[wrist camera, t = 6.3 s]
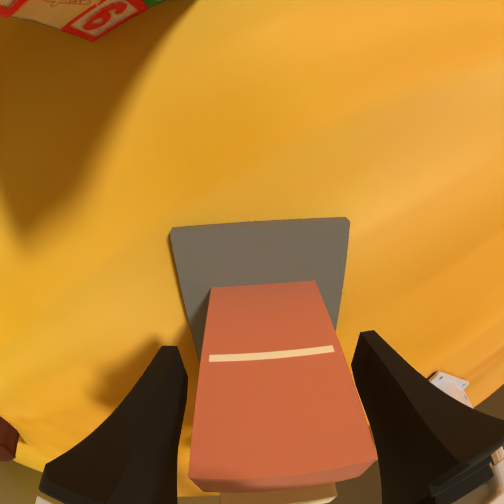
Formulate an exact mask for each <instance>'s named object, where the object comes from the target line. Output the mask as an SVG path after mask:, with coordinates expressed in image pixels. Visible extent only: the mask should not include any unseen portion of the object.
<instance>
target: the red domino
mask: <svg viewBox="0 0 504 504" xmlns="http://www.w3.org/2000/svg"><path fill="white" fill-rule="evenodd" d="M377 458H378V457H377V453H376V450H375V447H374V443H373V440H372V437H371V434H370V430H369V427H368V424H367V421H366V418H365V415H364V412H363V409H362V405H361V402H360V399H359V396H358V394H357V391H356V388H355V385H354V382H353V379H352V376H351V373H350V370H349V368H348V365H347V362H346V359H345V356H344V354H343V351H342V348H341V346H340V343H339V340H338V338H337V335H336V332H335V330H334V327H333V324H332V322H331V319H330V317H329V314H328V311H327V309H326V306H325V304H324V301H323V299H322V296H321V294H320V291H319V289H318V286H317V284H316V281H315V280H313V281H301V282H288V283H275V284H261V285H246V286H229V287H211V292H210V299H209V306H208V312H207V319H206V326H205V333H204V340H203V347H202V355H201V362H200V370H199V378H198V386H197V394H196V403H195V412H194V421H193V430H192V440H191V451H190V462H189V473H188V477H189V478H190V479H191V480H192V481H193V482H194V483H195V484H196V485H197V486H198V487H199V488H200V489H201V490H202V491H203V492H227V493H241V492H266V491H279V490H289V489H297V488H305V487H311V486H317V485H323V484H328V483H333V482H338V481H343V480H347V479H351V478H355V477H359V476H360V475H361V474H362V473H363V472H364V471H365V470H366V469H367V468H368V467H369V466H370V465H371V464H372V463H373V462H374V461H375V460H376V459H377Z"/></svg>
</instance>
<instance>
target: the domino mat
mask: <svg viewBox="0 0 504 504" xmlns="http://www.w3.org/2000/svg"><path fill="white" fill-rule="evenodd" d="M349 228H350V221H349V220H348V219H347V218H346V217H336V218H311V219H291V220H272V221H255V222H239V223H225V224H211V225H198V226H185V227H173V228H172V229H171V231H170V238H171V244H172V249H173V254H174V259H175V264H176V268H177V273H178V278H179V282H180V287H181V291H182V296H183V300H184V304H185V308H186V312H187V316H188V320H189V324H190V328H191V332H192V336H193V339H194V343H195V347H196V350H197V354H198V357H199V361H200V362H201V355H202V347H203V340H204V333H205V326H206V319H207V312H208V306H209V299H210V292H211V287H229V286H246V285H261V284H275V283H288V282H301V281H313V280H315V281H316V284H317V286H318V289H319V291H320V294H321V296H322V299H323V301H324V304H325V306H326V309H327V311H328V314H329V317H330V319H331V322H332V324H333V327H334V330H336V325H337V319H338V313H339V307H340V301H341V294H342V288H343V280H344V273H345V265H346V257H347V248H348V238H349Z"/></svg>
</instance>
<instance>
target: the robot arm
mask: <svg viewBox="0 0 504 504" xmlns="http://www.w3.org/2000/svg"><path fill="white" fill-rule="evenodd" d="M351 367H352V371H353V376H354V380H355V384H356V387H357V390H358V393H359V396H360V398H361V401H362V404H363V406H364V409H365V412H366V415H367V417H368V420H369V423H370V426H371V429H372V432H373V436H374V440H375V445H376V450H377V455H378V461H379V468H380V475H381V486H382V504H504V450H503V448H502V445H504V420H501V419H498V418H495V417H492V416H490V415H487V414H484V413H481V412H479V411H477V410H475V409H474V408H473V406H472V404H471V402H470V401H469V399H468V397H467V395H466V393H465V391H464V389H465V388H466V387H467V386H468V385H469V382H468V381H466V380H463V379H460V378H458V377H455V376H452V375H449V374H446V373H444V372H441V371H439V372H437V373H435V374H434V375H433V376H432V377H431V378H430V379H429V380H427V379H426V378H425V377H423V376H422V375H421V374H420V373H418V372H417V371H416V370H415V369H414V368H413V367H412V366H410V365H409V364H408V363H407V362H406V361H405V360H404V359H403V358H402V357H401V356H400V355H399V354H398V353H397V352H396V351H395V350H394V349H393V348H392V347H390V346H389V345H388V344H387V343H386V342H385V341H384V340H383V339H382V338H381V337H380V336H379V335H378V334H377V333H376V332H375V331H374V330H371V331H365V332H360V335H359V339H358V342H357V346H356V350H355V353H354V357H353V360H352V363H351ZM187 387H188V376H187V373H186V370H185V368H184V365H183V362H182V359H181V356H180V353H179V350H178V347H177V346H162V347H161V348H160V349H159V351H158V353H157V354H156V356H155V357H154V359H153V360H152V362H151V363H150V365H149V366H148V368H147V369H146V370H145V372H144V373H143V375H142V376H141V378H140V379H139V380H138V382H137V383H136V384H135V386H134V387H133V389H132V390H131V391H130V392H129V394H128V395H127V396H126V397H125V399H124V400H123V401H122V402H121V404H120V405H119V406H118V407H117V408H116V409H115V410H114V412H113V413H112V414H111V415H110V416H109V417H108V418H107V419H106V420H105V421H104V422H103V423H102V424H101V425H100V426H99V427H98V428H97V429H95V430H94V431H93V432H92V433H91V434H90V435H89V436H88V437H86V438H85V439H84V440H82V441H81V442H80V443H78V444H77V445H76V446H74V447H73V448H72V449H70V450H69V451H67V452H66V453H64V454H62V455H61V456H59V457H57V458H56V459H54V460H52V461H51V462H49V463H47V464H46V465H45V468H44V471H43V474H42V478H41V481H40V485H39V490H40V491H41V492H42V493H44V494H46V495H48V496H50V497H52V498H54V499H56V500H58V501H60V502H62V503H64V504H177V455H178V446H179V439H180V434H181V428H182V423H183V417H184V412H185V406H186V400H187ZM35 504H54V503H52V502H50V501H48V500H46V499H44V498H42V497H40V496H37V499H36V503H35Z"/></svg>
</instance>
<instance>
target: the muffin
mask: <svg viewBox="0 0 504 504" xmlns="http://www.w3.org/2000/svg"><path fill="white" fill-rule="evenodd" d="M18 437H19V433H18V432H17V430H16V429H15V428H14V427H12V426H11V425H10V424H9V423H8V422H7V421H5V420H4V419H3V418H2V417H0V461H9V460H12V459H14V458H15V454H16V448H17V443H18Z"/></svg>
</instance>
